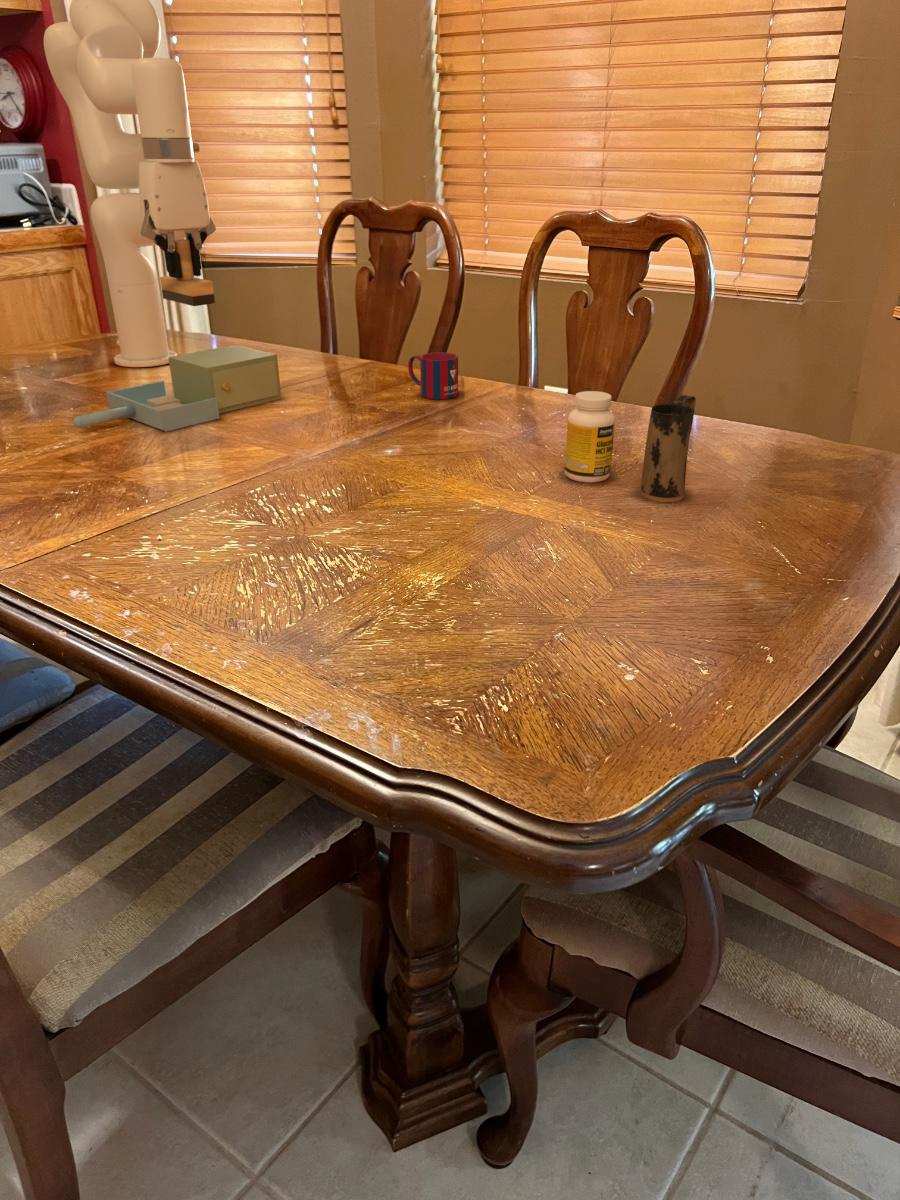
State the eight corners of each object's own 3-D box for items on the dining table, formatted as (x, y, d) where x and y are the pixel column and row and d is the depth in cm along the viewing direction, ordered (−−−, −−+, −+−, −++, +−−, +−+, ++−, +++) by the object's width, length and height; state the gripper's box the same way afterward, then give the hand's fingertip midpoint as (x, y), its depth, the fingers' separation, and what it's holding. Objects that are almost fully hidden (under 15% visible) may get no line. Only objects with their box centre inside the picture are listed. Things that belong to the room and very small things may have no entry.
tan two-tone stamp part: (162, 298, 146) (153, 238, 142) (183, 295, 149) (175, 236, 144) (193, 306, 140) (185, 243, 136) (215, 303, 143) (207, 241, 138)
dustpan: (165, 400, 152) (162, 380, 150) (219, 418, 142) (217, 398, 140) (52, 424, 139) (47, 403, 137) (102, 446, 128) (98, 424, 127)
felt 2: (175, 402, 143) (176, 411, 144) (153, 407, 141) (154, 416, 141) (188, 406, 141) (189, 415, 142) (166, 411, 138) (167, 420, 139)
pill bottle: (599, 487, 113) (606, 404, 108) (556, 478, 116) (561, 397, 110) (617, 473, 117) (624, 393, 112) (575, 465, 120) (581, 386, 115)
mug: (670, 505, 107) (682, 410, 101) (631, 495, 110) (641, 402, 104) (699, 488, 112) (712, 397, 107) (661, 479, 115) (672, 390, 110)
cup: (440, 401, 150) (440, 362, 147) (400, 392, 156) (398, 354, 153) (465, 394, 155) (465, 355, 151) (425, 385, 161) (424, 348, 157)
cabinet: (175, 402, 151) (168, 357, 147) (242, 387, 160) (237, 344, 156) (217, 416, 143) (211, 369, 139) (285, 400, 152) (281, 355, 148)
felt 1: (167, 395, 147) (168, 404, 148) (146, 399, 145) (147, 408, 145) (179, 399, 145) (181, 408, 146) (158, 404, 142) (159, 413, 143)
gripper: (201, 150, 141) (215, 269, 150) (107, 151, 131) (128, 279, 140) (226, 151, 137) (239, 273, 146) (131, 152, 126) (151, 284, 135)
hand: (185, 275), depth 143 cm, fingers closed on tan two-tone stamp part, 2 cm apart
